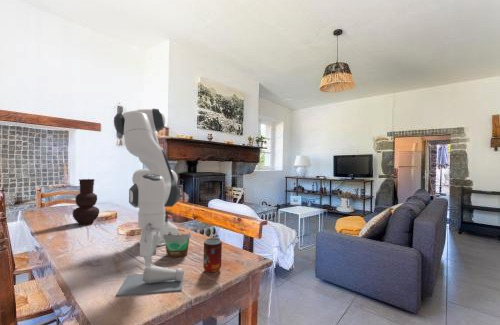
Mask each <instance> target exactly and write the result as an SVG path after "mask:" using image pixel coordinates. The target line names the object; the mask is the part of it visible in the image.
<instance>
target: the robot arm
mask: <svg viewBox="0 0 500 325" xmlns="http://www.w3.org/2000/svg"><path fill="white" fill-rule="evenodd" d="M165 125H166V116H165V115H164V113H163V111H162V110H161V109H159V108H151V109H150V108H149V109H148V108H147V109H141V108H140V109H136V110H135V109H134V110H129V111H125V112H122V111H121V112H119V113H116V114H115V115H114V117H113V126H114V128H115V130H116V132H117V134H119V135H121V136H123V139H124V144H125V149H126V150H127V151H128V152H129V153H130V154H132V156H135V157H136V158H138V160H139V162H140V163H142V164H143V165H144V166H145V167H146V168H142V169H138V170H136V171H134V173H133V174H132V177H131V178H132V184H133V185H131V187H130V188H129V191H128V192H129V193H128V203H129V204H130V206H132V207H133V208H138V209H139V210H138V213H137V216H138V218H137V220H138V221H137V227H138V228H140V229H141V233H140V238H139V241H138V244H139V256H140V257H141V258H143V259H144V266H145V268H147V267H149V266H151V265H152V261H153V260H152V257H155V256H156V255H157V248H158V247H159V246H166V243H165V239H164V235H165V234H166V235H173V234H180V233H179V228H178V227H177V226H176V225H175V224H173V223H172V222H171V221H169V220H172V217H173V216H172V215H170V214H168V215H167V214H166V207H167V208H173V206H175V205H176V204H177V203H178V202H179V200H180V199H181V198H180V197H181V191H180V188H179V185H178V180H179V179H178V178H179V177H178V174H177V172H176V171H175V170H173V169H171V165H170V163H169V159H168V158H167V155H166V152H165V150H164V148H163V147H162V146H160V143H159V142H160V141H159V139H158V135H157V133H160V131H162V130H164V128H165Z"/></svg>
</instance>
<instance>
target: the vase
mask: <svg viewBox="0 0 500 325" xmlns="http://www.w3.org/2000/svg"><path fill="white" fill-rule="evenodd" d="M95 180H96V179H94V178H92V179H91V178H88V179H87V178H82V179H78V181H79V183H78V184H79V193H78V194H77V195H76V196H75V197H74V198H75V205H76V206H77V207H76V208H74V209H73V210H72V213H71V214H72V219H74V221H75V222H76V223H77V224H78V225H79V226H88V225H92V224H94V221H95V220H96V219H97V218H98V217H99V214H100V209H99V207H97V206H95V205H96V204H97V201H98V195H97V194H96V193H94V186H95Z"/></svg>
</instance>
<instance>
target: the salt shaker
mask: <svg viewBox="0 0 500 325" xmlns="http://www.w3.org/2000/svg"><path fill="white" fill-rule="evenodd" d="M183 271H184V269H183V268H181V267H178V268H176V269H173V268H172V269H171V268H167V267H163V266H160V265H159V266H158V265H154V264H153V265H152V264H151V266H149V267H144V269H143V273H142V274H143V281H144V282H146V283H149V284H151V283H157V282H163V281H169V280H175V281H178V282H179V281H181V280H182V277H183V278H184V275H183Z"/></svg>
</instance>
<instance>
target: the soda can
mask: <svg viewBox="0 0 500 325" xmlns="http://www.w3.org/2000/svg"><path fill="white" fill-rule="evenodd" d="M222 245H223V241H222V240H221V239H220V238H218V237H209V238H206V239H205V240H204V242H203V269H204V272H205V273H206V274H209V275H212V274H213V275H214V274H218V273H219V272H220V269H221V268H222V256H223V255H222V253H223V252H222V249H223V247H222Z"/></svg>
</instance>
